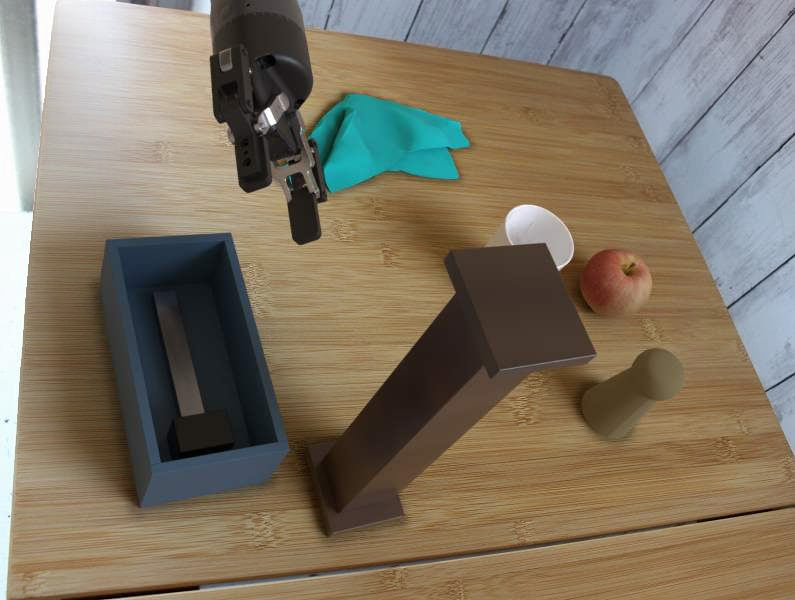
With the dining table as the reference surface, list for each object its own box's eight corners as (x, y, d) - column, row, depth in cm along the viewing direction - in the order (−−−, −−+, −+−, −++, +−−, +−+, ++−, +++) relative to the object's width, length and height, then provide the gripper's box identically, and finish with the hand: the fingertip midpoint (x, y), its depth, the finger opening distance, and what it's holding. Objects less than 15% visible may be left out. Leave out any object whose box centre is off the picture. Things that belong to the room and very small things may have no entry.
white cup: (531, 273, 95) (577, 223, 87) (522, 328, 91) (570, 280, 83) (469, 246, 94) (510, 192, 86) (457, 300, 89) (499, 248, 81)
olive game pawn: (589, 376, 90) (650, 327, 82) (636, 406, 91) (701, 360, 82) (574, 418, 87) (635, 371, 78) (622, 449, 87) (689, 406, 78)
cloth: (444, 94, 106) (451, 81, 104) (487, 180, 101) (495, 168, 99) (249, 99, 93) (254, 84, 92) (286, 197, 88) (292, 184, 86)
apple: (579, 329, 93) (619, 293, 87) (559, 269, 97) (597, 230, 91) (636, 330, 97) (679, 295, 90) (615, 272, 100) (655, 234, 94)
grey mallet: (226, 458, 70) (235, 442, 67) (173, 469, 68) (180, 452, 65) (186, 296, 77) (192, 275, 74) (136, 301, 75) (141, 280, 72)
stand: (400, 520, 74) (598, 355, 49) (327, 538, 71) (499, 370, 45) (374, 436, 77) (545, 242, 52) (303, 450, 74) (450, 249, 49)
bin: (266, 483, 71) (290, 449, 65) (139, 508, 66) (151, 475, 60) (214, 278, 80) (231, 232, 74) (98, 288, 75) (105, 239, 69)
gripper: (261, -37, 60) (289, 148, 53) (336, 80, 72) (366, 241, 65) (169, 1, 61) (184, 185, 54) (258, 109, 74) (279, 269, 67)
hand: (283, 215), depth 60 cm, fingers open, 8 cm apart
